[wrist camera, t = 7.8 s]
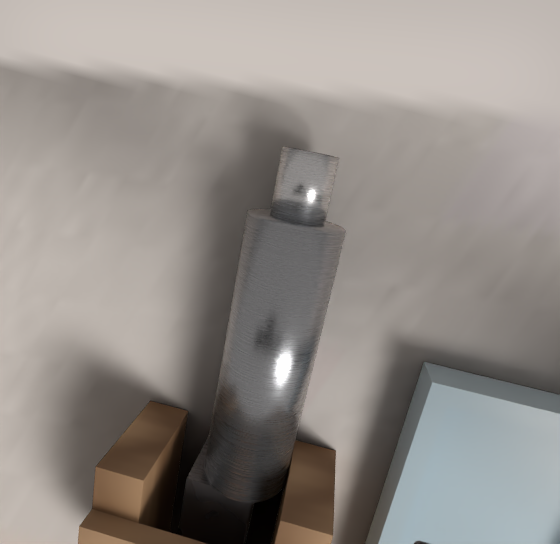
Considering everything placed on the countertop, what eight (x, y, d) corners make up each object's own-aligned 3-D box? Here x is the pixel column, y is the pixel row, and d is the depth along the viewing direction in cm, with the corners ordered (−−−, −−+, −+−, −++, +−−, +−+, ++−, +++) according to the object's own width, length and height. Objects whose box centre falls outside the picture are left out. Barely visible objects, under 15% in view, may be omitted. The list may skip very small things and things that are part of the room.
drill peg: (336, 158, 16) (382, 166, 13) (274, 438, 20) (297, 499, 17) (249, 140, 15) (275, 143, 12) (199, 441, 19) (209, 506, 16)
